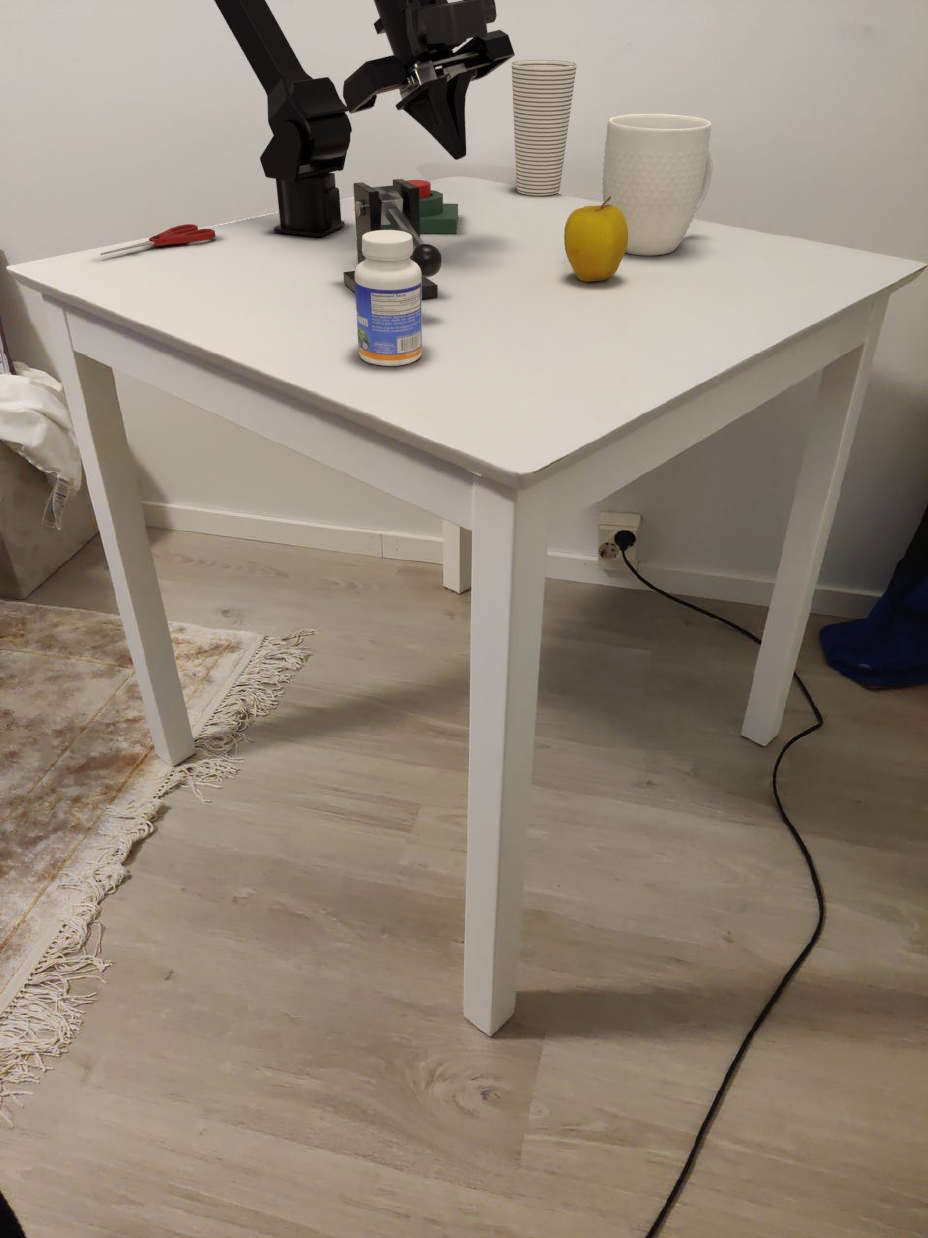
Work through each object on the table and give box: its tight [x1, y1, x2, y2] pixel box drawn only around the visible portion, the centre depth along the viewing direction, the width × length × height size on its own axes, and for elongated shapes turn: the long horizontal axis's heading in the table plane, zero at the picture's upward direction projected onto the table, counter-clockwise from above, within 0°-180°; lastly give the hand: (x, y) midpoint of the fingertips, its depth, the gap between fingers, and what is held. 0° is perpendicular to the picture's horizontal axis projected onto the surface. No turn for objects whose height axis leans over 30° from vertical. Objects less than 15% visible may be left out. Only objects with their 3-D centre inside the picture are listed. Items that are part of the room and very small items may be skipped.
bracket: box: [342, 178, 439, 300], centre depth 92 cm, size 8×7×10 cm
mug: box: [602, 113, 713, 257], centre depth 106 cm, size 15×11×13 cm
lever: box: [371, 185, 443, 278], centre depth 88 cm, size 13×3×3 cm, turn 25°
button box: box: [380, 189, 459, 235], centre depth 116 cm, size 10×8×4 cm
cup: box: [511, 59, 578, 197], centre depth 128 cm, size 8×8×16 cm
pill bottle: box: [354, 230, 423, 367], centre depth 78 cm, size 5×5×10 cm
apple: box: [563, 196, 628, 282], centre depth 96 cm, size 6×6×8 cm
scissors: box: [99, 223, 216, 256], centre depth 108 cm, size 5×14×1 cm, turn 140°
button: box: [406, 179, 432, 199], centre depth 115 cm, size 4×4×2 cm
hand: (461, 157), depth 98 cm, fingers closed
